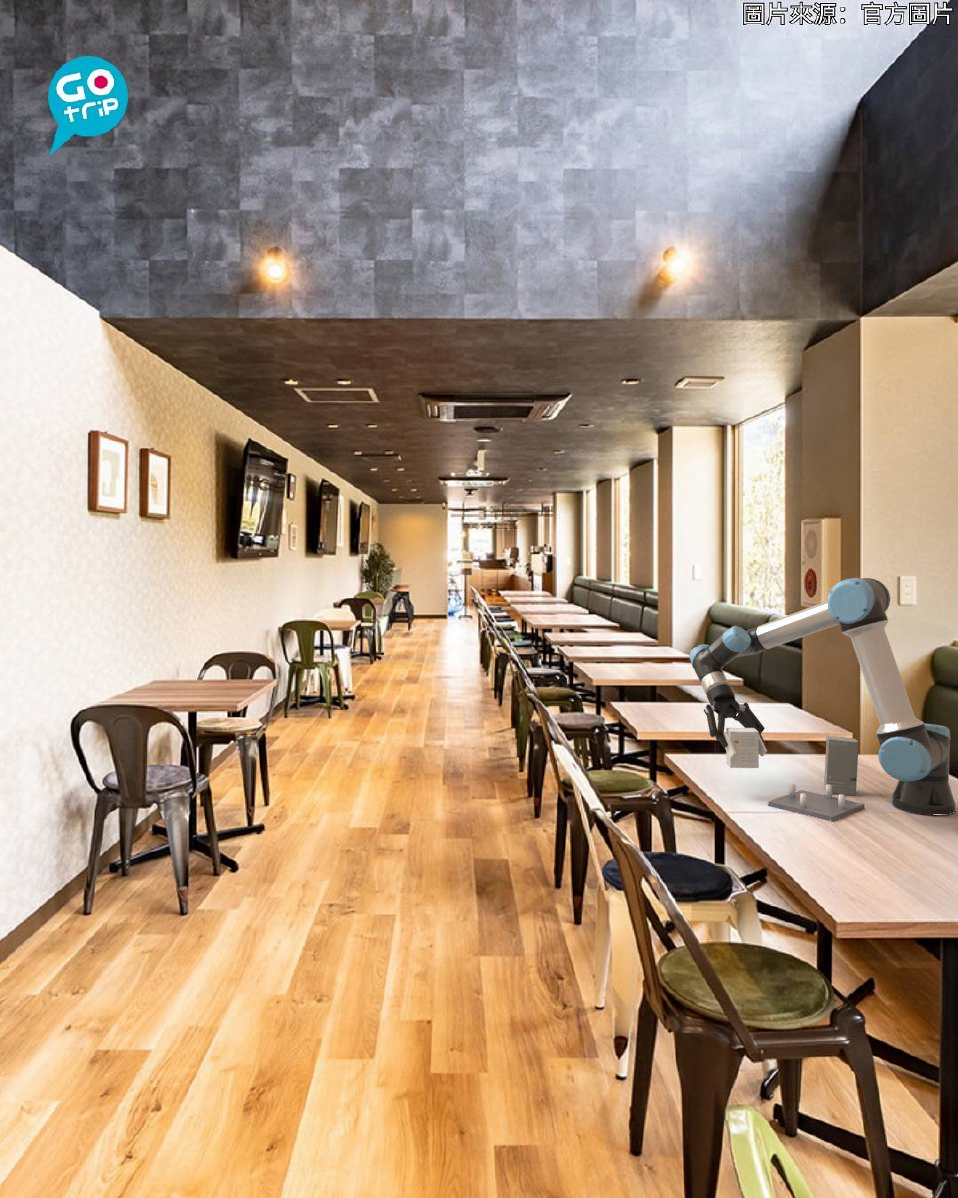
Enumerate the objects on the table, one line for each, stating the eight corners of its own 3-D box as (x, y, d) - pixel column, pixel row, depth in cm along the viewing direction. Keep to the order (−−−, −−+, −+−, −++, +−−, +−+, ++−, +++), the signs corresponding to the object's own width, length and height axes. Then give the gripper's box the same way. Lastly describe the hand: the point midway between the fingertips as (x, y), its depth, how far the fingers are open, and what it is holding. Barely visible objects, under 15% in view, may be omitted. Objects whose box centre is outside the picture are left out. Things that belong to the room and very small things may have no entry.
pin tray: (801, 794, 239) (802, 777, 238) (864, 808, 225) (864, 790, 225) (768, 805, 227) (768, 788, 227) (832, 821, 213) (832, 803, 213)
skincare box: (826, 794, 239) (827, 739, 238) (823, 787, 246) (824, 734, 245) (858, 796, 237) (859, 741, 236) (854, 790, 243) (856, 736, 243)
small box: (754, 764, 239) (754, 727, 238) (759, 768, 233) (759, 731, 233) (725, 763, 239) (726, 727, 239) (729, 768, 234) (729, 731, 234)
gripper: (745, 696, 253) (776, 759, 239) (680, 699, 248) (708, 764, 233) (755, 681, 248) (788, 745, 233) (689, 684, 242) (719, 749, 228)
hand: (748, 754), depth 233 cm, fingers closed on small box, 9 cm apart
